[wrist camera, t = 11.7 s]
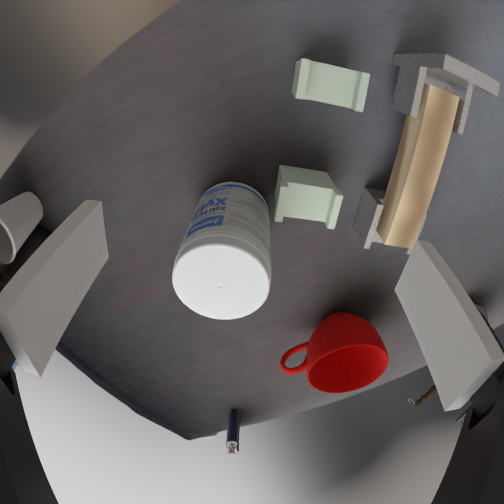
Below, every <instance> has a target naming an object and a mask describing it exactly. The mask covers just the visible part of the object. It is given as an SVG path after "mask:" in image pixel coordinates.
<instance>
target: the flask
mask: <svg viewBox="0 0 504 504" xmlns="http://www.w3.org/2000/svg"><path fill="white" fill-rule="evenodd" d="M238 416H239V411H237V410H236V409H232V410H229V412H228V429H227V443H226V446H227V449H228V451H229V452H228V453H227V454H229V453H230V454H236V453H238V451H239V427H240V422H239V419H240V418H239V417H238Z"/></svg>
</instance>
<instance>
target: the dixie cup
mask: <svg viewBox="0 0 504 504" xmlns="http://www.w3.org/2000/svg"><path fill="white" fill-rule="evenodd" d="M42 217H43V207H42V204H41V202H40V200H39V199H38V197H37V196H36V195H34V194H33V193H31V192H24V193H22V194H20V195H18V196H16V197H14V198H12V199H11V200H9V201H7V202H5V203H3V204H2V205H0V263H2V264H9V263H11V262H12V261H13V260H14V258H15V255H16V253H17V252H18V250H19V249H20V248H21V246H22V245H23V243H24V242H25V241H26V239H27V238H28V236H29V235H30V234H31V232H32V231H33V230H34V228H35V227H36V226H37V224H38V223H39V222H40V221H41V219H42Z"/></svg>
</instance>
